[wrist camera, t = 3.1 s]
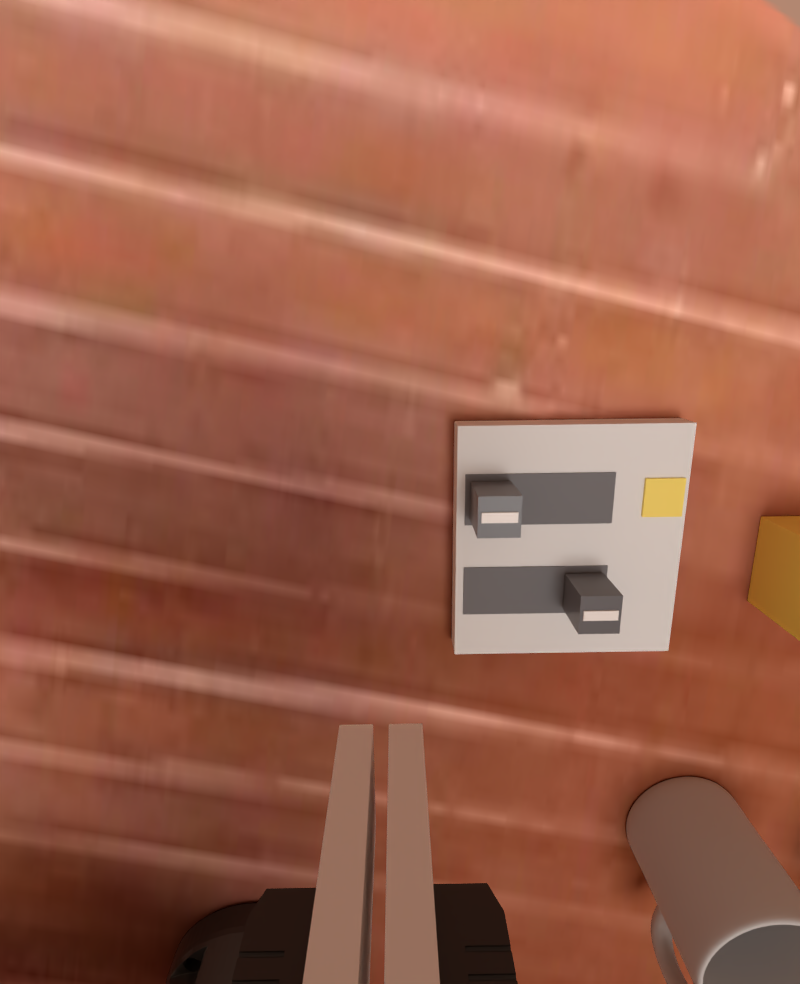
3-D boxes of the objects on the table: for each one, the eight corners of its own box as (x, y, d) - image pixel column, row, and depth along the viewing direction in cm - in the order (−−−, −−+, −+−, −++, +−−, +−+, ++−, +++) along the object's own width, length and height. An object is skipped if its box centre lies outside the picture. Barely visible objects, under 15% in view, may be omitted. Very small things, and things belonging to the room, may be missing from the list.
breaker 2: (562, 608, 37) (578, 635, 33) (565, 573, 36) (581, 597, 33) (600, 608, 37) (620, 634, 33) (603, 573, 36) (623, 596, 33)
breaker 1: (470, 520, 35) (477, 539, 32) (470, 481, 34) (478, 497, 31) (509, 519, 35) (521, 538, 32) (511, 481, 34) (523, 496, 31)
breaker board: (451, 638, 40) (454, 655, 37) (454, 421, 36) (457, 426, 33) (654, 635, 40) (669, 652, 38) (680, 417, 36) (698, 423, 34)
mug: (656, 760, 42) (743, 903, 32) (757, 794, 43) (874, 943, 33) (586, 880, 45) (643, 1046, 35) (681, 909, 46) (766, 1080, 36)
